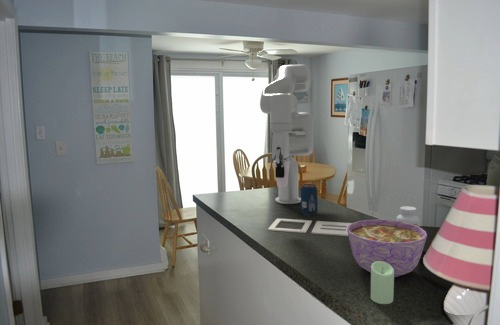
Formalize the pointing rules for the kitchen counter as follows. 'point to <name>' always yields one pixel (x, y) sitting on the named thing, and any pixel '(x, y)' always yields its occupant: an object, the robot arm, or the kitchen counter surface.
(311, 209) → the soda can
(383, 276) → the candle
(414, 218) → the supplement bottle
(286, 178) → the smoothie
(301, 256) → the kitchen counter surface
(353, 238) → the bowl of food
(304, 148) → the robot arm
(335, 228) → the pads
